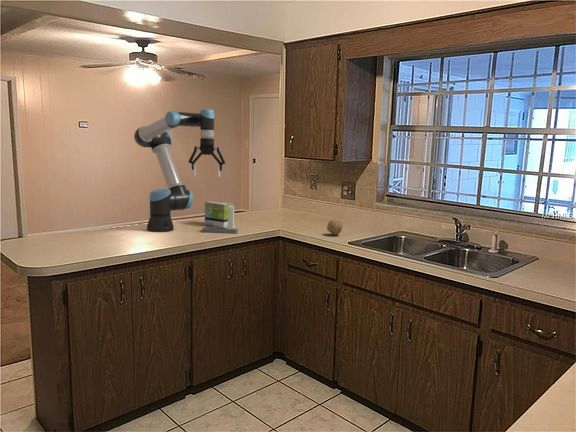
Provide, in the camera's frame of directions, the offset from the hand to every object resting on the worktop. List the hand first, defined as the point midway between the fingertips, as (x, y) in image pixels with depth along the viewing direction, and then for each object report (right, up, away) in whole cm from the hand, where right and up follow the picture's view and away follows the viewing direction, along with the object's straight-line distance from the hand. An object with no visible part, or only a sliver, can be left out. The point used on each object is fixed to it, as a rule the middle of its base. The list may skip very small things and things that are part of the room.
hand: (206, 176), depth 263 cm
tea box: (+2, -28, +31) cm, 42 cm away
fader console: (+6, -32, +11) cm, 34 cm away
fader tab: (+12, -29, +11) cm, 34 cm away
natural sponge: (+73, -34, +14) cm, 81 cm away
